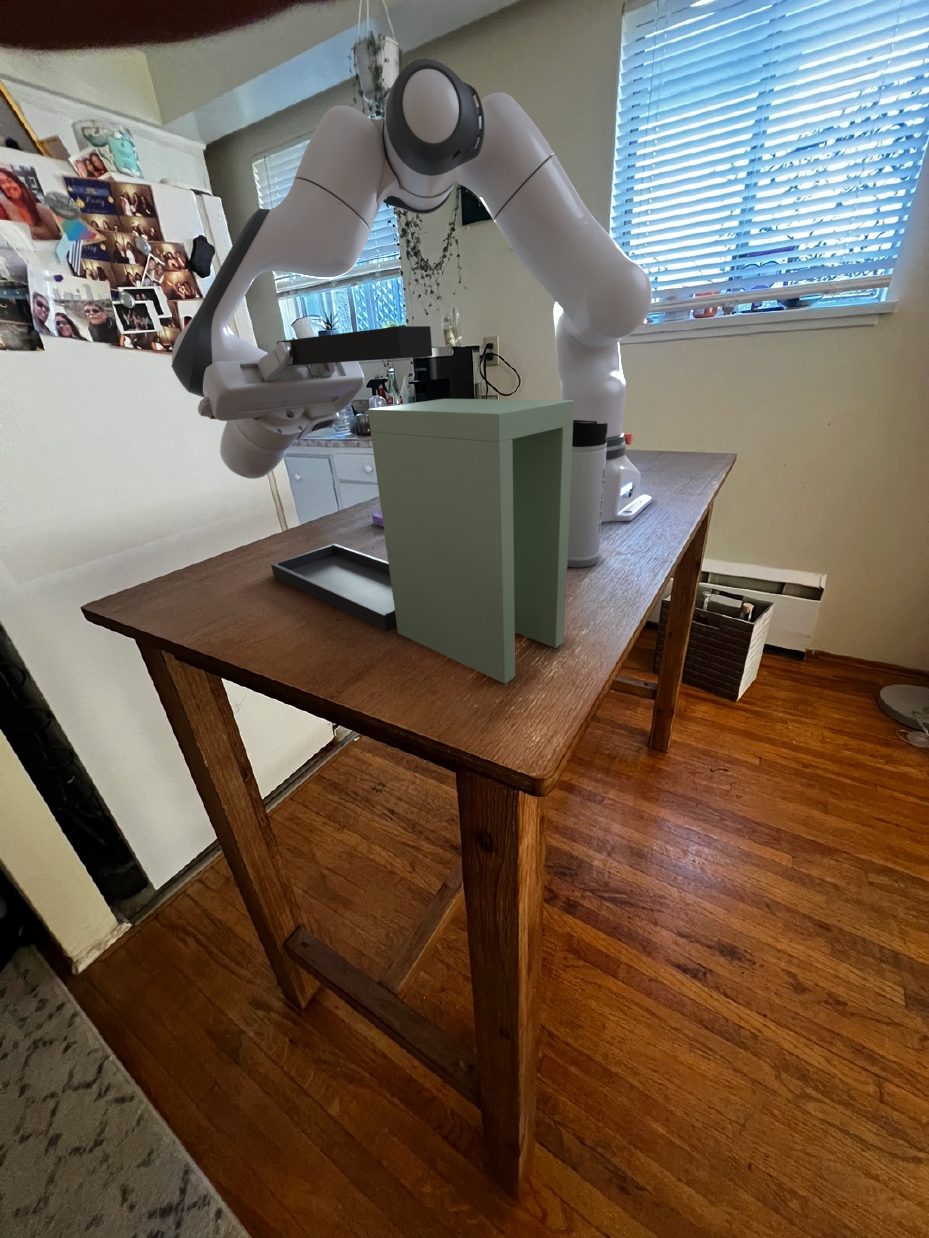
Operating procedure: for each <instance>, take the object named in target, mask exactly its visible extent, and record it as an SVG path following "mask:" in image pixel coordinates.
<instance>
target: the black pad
mask: <svg viewBox="0 0 929 1238" xmlns="http://www.w3.org/2000/svg"><path fill="white" fill-rule="evenodd" d="M279 342H291V343H292V344H293V346H294V347H293V348H294V349H295V351H296V353H297V357H296V359H295V361H294V363H293V364H291V365H300V364H317V363H334V362H350V361H358V362H363V361H364V362H365V361H381V360H396V359H397V360H399V359H413V358H431V357H433V344H432V343H433V342H432V331H431V326H430V325H416V326H415V325H411V326H410V325H409V326H407V325H405V326H402V325H398V326H397V325H396V326H390V327H382V328H375V329H366V330H357V331H348V332H341V333H333V334H327V335H316V336H308V337H300V338H294V339H284V340H277V341H276V345H277V344H278V343H279Z"/></svg>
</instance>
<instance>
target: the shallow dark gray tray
mask: <svg viewBox="0 0 929 1238" xmlns="http://www.w3.org/2000/svg"><path fill="white" fill-rule="evenodd" d="M270 567H271V570H272V575H273V578H274V579H277V580H279V581H281V582H283V583H285V584H287V585H289V586H291V587H293V588H295V589H297V590H300V591H301V592H304V593H306V594H308V595H310V596H312V597H314V598H316V599H318V600H320V601H322V602H325V603H326V604H329V605H330V606H332V607H335V608H336V609H339V610H341V611H343V612H345V613H347V614H349V615H351V616H353V617H354V618H355V617H356V618H357V619H360V620H362V621H363V622H366V623H368V624H370V625H372V626H374V627H376V628H378V629H380V630H383V631H384V632H388V631H390V630H391V629H395V628H397V622H396V615H395V607H394V600H393V593H392V585H391V578H390V570H389V563H388V560H387V561H386V560H384V559H381V558H379V557H375V556H372V555H369V554H366V553H364V552H361V551H357V550H355V549H352V548H349V547H345V546H343V545H340V544H336V543H332V544H329V545H326V546H323V547H320V548H317V549H314V550H310V551H308V552H304V553H301V554H299V555H296V556H292V557H289V558H286V559H283V560H279V561H276V562H274V563H271V564H270Z"/></svg>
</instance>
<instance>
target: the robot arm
mask: <svg viewBox="0 0 929 1238" xmlns="http://www.w3.org/2000/svg"><path fill="white" fill-rule="evenodd" d="M474 96H475V98H474ZM475 99H476V101H477V103H476V101H475ZM456 184H457V185H460V186H462V187H465V188H466V189H468V190H470V192H472V193H473V194H474V195H475V196H476V197H477V198H478V199H479V200H480V201H481V202H482V204H483V206H484V207H485V209H486V211H487V212H488V213H489V215H490V218H491V219H492V220H493V222H494V224H495V225H496V226H497V227H498V229H499V231H500V233H501V234H502V236H503V237H504V238H505V240H506V241H507V243H508V245H509V246H510V248H511V249H512V250H513V253H514V254H515V256H516V257H517V259H518V260H519V262H520V263H521V265H522V266H523V267H524V269H525V270H526V271H527V272H528V273H530V275H532V276H533V277H534V278H535V279H536V281H537V282H539V284H540V285H541V286H542V287H543V288H544V289H545V290H546V292H547V293H548V294H549V295H550V296H551V297H552V299H553V300H554V301H555V302H554V306H553V312H552V319H553V325H554V338H555V339H554V341H555V353H556V354H555V355H556V362H557V364H556V365H557V374H558V385H559V387H558V389H559V395H558V396H559V397H558V400H574V413H573V420H586V421H597V423H608V429H607V435H606V437H607V446H606V463H605V477H604V491H603V505H602V519H601V523H606V522H629V521H632V520H634V519H635V518H636V517H637V516H638V515H639V514H640V513H641V512H642V511H643V510H645V508H647V506H648V505H650V504H651V503H652V496H651V495H648V494H645V493H641V481H642V478H641V472H640V470H638V468H637V467H636V466H635V465H634V464H633V463H632V462H631V460H630V459H629V458H628V457H627V456H626V455H625V454H627V447H626V446H631V445H632V443H633V441H634V440H633V439H634V435H633V433H631V432H630V433H625V432H623V425H624V417H625V416H624V415H625V403H626V402H625V401H626V390H627V384H626V380H625V378H624V377H625V376H624V374H623V367H622V360H621V350H620V348H621V347H620V342H622V341H624V340H626V339H627V338H629V336H631V335H633V333H634V332H635V331H636V330H638V328H640V326H641V325H642V324H643V323H644V321H645V320H646V318H647V316H648V314H649V312H650V309H651V304H652V300H653V287H652V283H651V279H650V277H649V275H648V273H647V272H646V271H645V269H644V268H643V267H642V266H641V265H640V264H638V263H637V262H635V261H634V260H632V259H631V258H629V256H627V254H626V253H625V252H624V250H622V249H621V246H619V244H617V242H616V241H615V240H614V239H613V238H612V236H611V235H610V234H609V233H608V231H606V229H605V228H604V227H603V226H602V225H601V224H600V223H599V222H598V221H597V220H596V218H595V217H594V215H593V214H592V213H591V212H590V211H589V208H588V207H587V206H586V204H585V203H584V202H583V200H582V199H581V197H580V194H579V193H578V192H577V190H576V188H575V187H574V184H573V183H572V181H571V179H570V178H569V176H568V174H567V172H566V171H565V169H564V168H563V165H562V164H561V162H560V161H559V159H558V157H557V156H556V154H555V152H554V151H553V149H552V147H551V146H550V144H549V142H548V141H547V140H546V138H545V137H544V135H543V133H542V132H541V131H540V129H539V128H538V126H537V125H536V124H535V123H534V121H533V120H532V119H531V117H530V116H529V114H528V113H527V112H526V111H525V110H524V108H523V107H522V106H521V105H520V104H519V103H518V102H517V100H515V98H514V97H513V96H511V95H510V94H508V93H506V92H502V91H498V92H493V93H491V94H488V95H486V96H485V97H483V98H482V99H481V98H480V95H479V92H478V91H477V89H476V88H475V87H473V86H472V85H471V84H469V83H467V82H465V81H463V80H462V78H461V77H460V76H459V75H457V73H456V72H455V71H453V70H452V69H451V68H450V67H448V66H447V65H446V64H444V63H442V62H440V61H438V60H435V59H432V58H418V59H415V60H413V61H411V62H409V63H408V64H407V65H406V66H405V67H404V68H403V69H402V70H401V71H400V72H399V73H398V75H397V76H396V77H395V80H394V82H393V84H392V85H391V88H390V90H389V93H388V95H387V100H386V105H385V118H384V117H381V118H379V119H376V118H371V117H368V115H366V114H365V113H363V112H362V111H361V110H358V109H357V108H355V107H352V106H350V105H345V104H344V105H343V104H338V105H334V106H332V107H330V108H329V109H328V110H327V111H325V113H324V114H323V116H322V117H321V120H320V121H319V123H318V124H317V126H316V128H315V130H314V131H313V134H312V136H311V137H310V139H309V141H308V144H307V146H306V148H305V150H304V152H303V155H302V157H301V160H300V163H299V165H298V168H297V169H296V172H295V176H294V179H293V181H292V185H291V187H290V189H289V192H288V193H287V194H286V196H285V197H284V199H283V200H282V201H281V202H279V204H277V205H276V206H275V207H273V208H271V209H270V208H261V207H260V208H258V209H257V210H256V211H254V213H253V214H252V215H251V216H250V217H249V218H248V219H247V221H246V223H245V224H244V226H243V228H242V230H241V231H240V233H239V234H238V236H237V238H236V240H235V242H234V244H233V245H232V246H231V248H230V250H229V252H228V254H227V255H226V257H225V259H224V261H223V262H222V264H221V266H220V267H219V270H218V271H217V273H216V275H215V277H214V279H213V281H212V283H211V285H210V287H209V289H208V290H207V292H206V294H205V296H204V298H203V299H202V301H201V304H200V306H199V308H198V310H197V311H196V313H195V314H194V315H193V317H192V318H190V320H189V322H188V323H187V324H186V325H185V326H184V327H183V329H182V330H181V332H180V333H179V334H178V336H177V338H176V340H175V342H174V345H173V348H172V353H171V369H172V370H173V372H174V375H175V377H176V378H177V379H178V381H179V383H180V384H181V385H182V386H183V387H184V389H185V390H186V391H187V392H188V393H189V394H193V395H195V396H198V397H200V398H202V399H201V400H200V401H199V404H198V406H197V412H198V415H200V417H206V418H208V419H210V420H218V421H221V422H225V425H224V427H223V430H222V434H221V439H220V443H219V455H220V458H221V460H222V462H223V464H224V465H225V466H226V467H227V468H228V469H229V470H230V471H231V472H233V473H234V474H236V475H238V476H240V477H242V478H246V479H250V480H252V479H253V480H254V479H260V478H263V477H265V476H267V475H268V474H270V473H271V472H272V471H273V470H275V469H276V467H277V466H278V465H279V464H280V463H281V462H282V461H283V459H284V458H285V456H286V455H287V453H288V451H289V448H291V447H292V446H293V445H294V444H295V443H296V441H297V440H301V439H303V438H304V437H307V436H308V435H309V434H312V433H313V432H317V431H319V430H322V429H325V428H327V427H331V426H334V425H335V424H337V423H338V421H340V414H339V413H340V412H342V411H344V410H345V409H346V408H348V407H349V405H350V404H351V403H352V402H353V401H354V400H355V399H356V397H357V396H358V395H359V393H360V392H361V390H362V389H363V388H364V386H365V383H366V379H365V378H366V377H365V375H364V371H363V369H362V367H361V365H360V363H359V361H350V362H334V363H317V364H300V365H291V364H293V363H294V361H295V359H296V357H297V353H296V351H295V349H294V348H293V347H294V346H293V344H292V343H291V342H279V343H278V344H277V343H276V347H275V348H274V350H272V351H270V352H267V351H265V350H263V349H261V348H259V347H258V346H255V345H253V344H252V343H249V342H248V341H246V340H244V339H242V338H240V337H239V336H237V335H236V334H234V333H233V332H232V330H231V329H230V323H231V321H232V319H233V317H234V316H235V314H236V312H237V310H238V309H239V307H240V305H241V304H242V302H243V300H244V298H245V296H246V294H247V293H248V291H249V289H250V287H251V285H252V283H253V282H254V281H255V279H257V277H259V276H260V275H262V274H264V273H267V272H284V273H290V274H295V275H298V276H299V275H300V276H305V277H308V278H309V277H310V278H315V279H335V278H339V277H341V276H344V275H345V274H348V273H349V272H350V271H351V270H353V269H354V267H356V264H357V263H358V261H359V259H360V257H361V255H362V253H363V251H364V249H365V247H366V244H367V242H368V239H369V238H370V233H371V231H372V229H373V224H374V223H375V220H376V217H377V214H378V213H379V210H380V208H381V205H382V204H383V203H384V204H385V205H387V206H391V207H395V208H398V209H402V210H404V211H406V212H408V213H412V214H414V215H428V214H429V215H430V214H432V213H434V212H436V211H438V210H439V209H440V208H441V207H443V205H444V204H446V202H447V201H448V200H449V198H450V196H451V195H452V192H453V190H454V186H455V185H456Z"/></svg>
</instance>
